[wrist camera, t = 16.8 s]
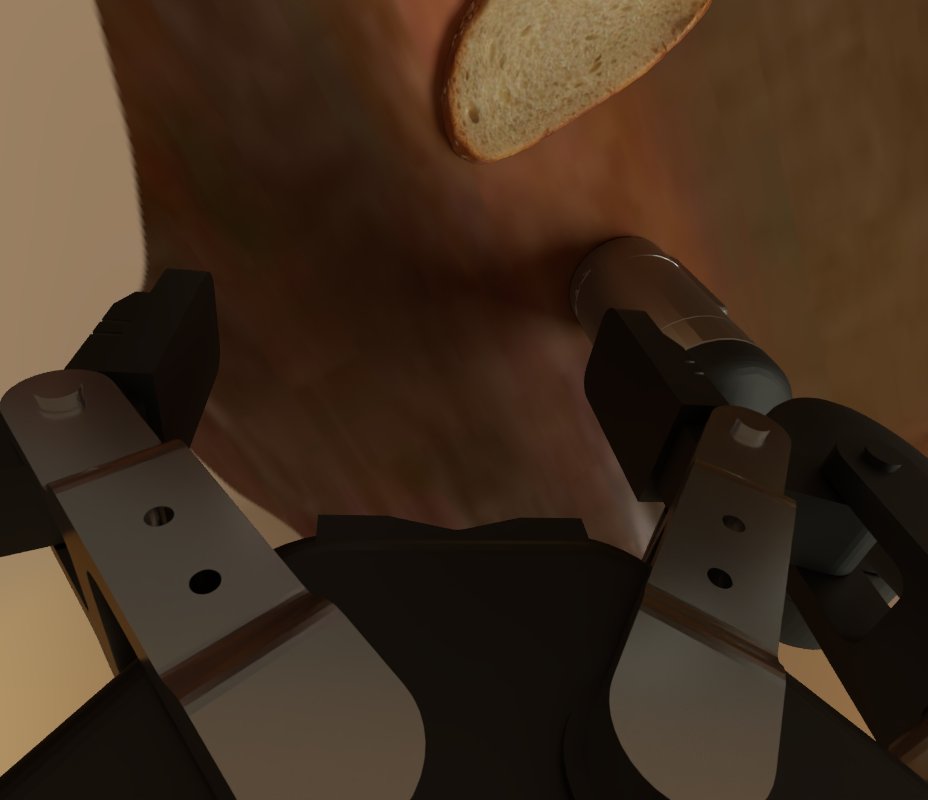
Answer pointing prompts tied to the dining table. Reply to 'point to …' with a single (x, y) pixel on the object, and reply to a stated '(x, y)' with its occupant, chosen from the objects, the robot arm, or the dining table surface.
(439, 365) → the dining table surface
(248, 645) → the robot arm
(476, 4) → the bread slice
